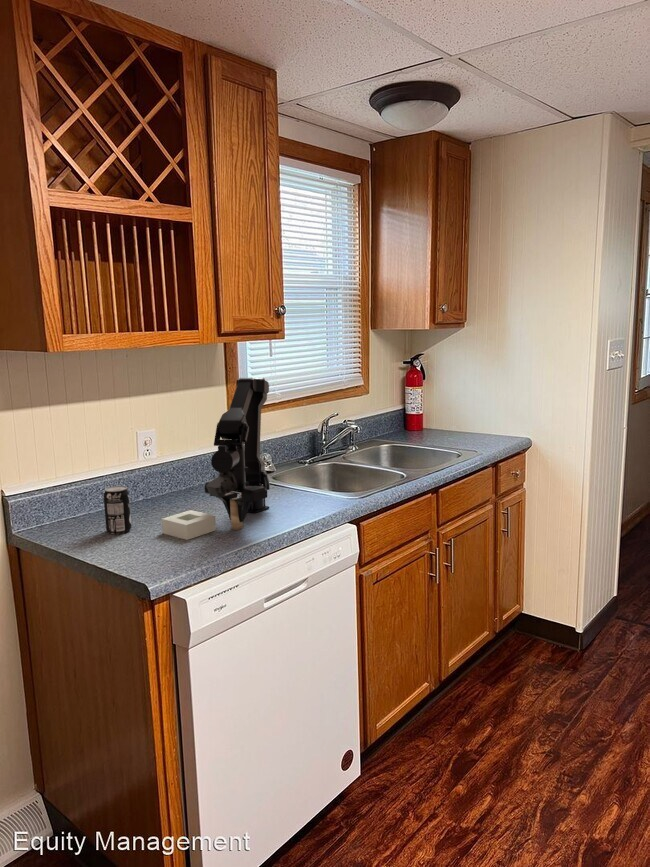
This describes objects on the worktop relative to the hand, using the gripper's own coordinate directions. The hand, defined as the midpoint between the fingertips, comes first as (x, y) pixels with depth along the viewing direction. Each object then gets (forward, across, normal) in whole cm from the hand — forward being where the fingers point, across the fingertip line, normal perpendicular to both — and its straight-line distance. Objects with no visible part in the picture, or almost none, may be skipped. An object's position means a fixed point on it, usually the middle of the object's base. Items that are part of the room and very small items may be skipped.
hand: (236, 520), depth 181 cm
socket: (+2, -8, -10) cm, 13 cm away
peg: (+2, 0, 0) cm, 2 cm away
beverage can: (+2, -25, -20) cm, 32 cm away
